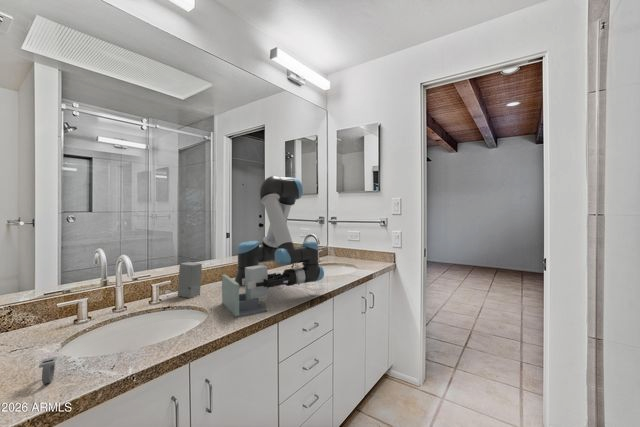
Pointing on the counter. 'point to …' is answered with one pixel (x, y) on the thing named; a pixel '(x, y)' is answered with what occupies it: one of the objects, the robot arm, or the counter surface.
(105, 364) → the counter surface
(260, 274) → the skincare box
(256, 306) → the holder
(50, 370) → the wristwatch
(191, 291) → the skincare box
